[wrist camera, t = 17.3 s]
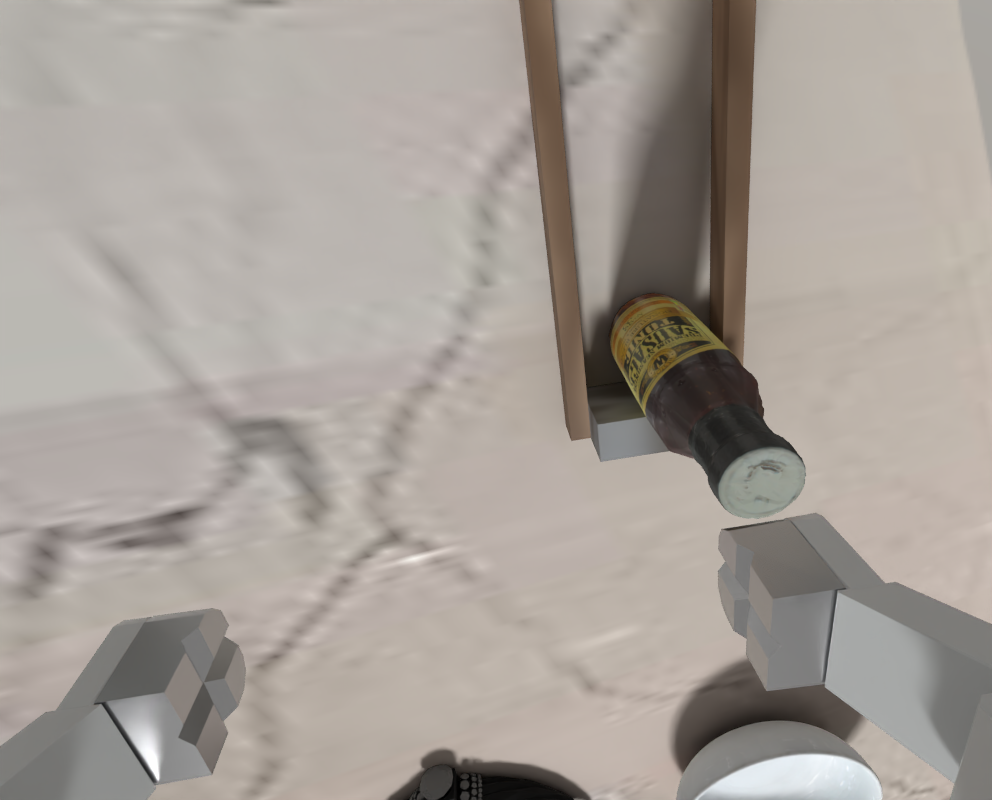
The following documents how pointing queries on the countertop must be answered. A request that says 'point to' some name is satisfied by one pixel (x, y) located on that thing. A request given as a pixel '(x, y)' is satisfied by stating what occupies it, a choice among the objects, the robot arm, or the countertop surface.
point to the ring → (479, 787)
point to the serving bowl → (778, 766)
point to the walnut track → (614, 407)
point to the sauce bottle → (704, 405)
